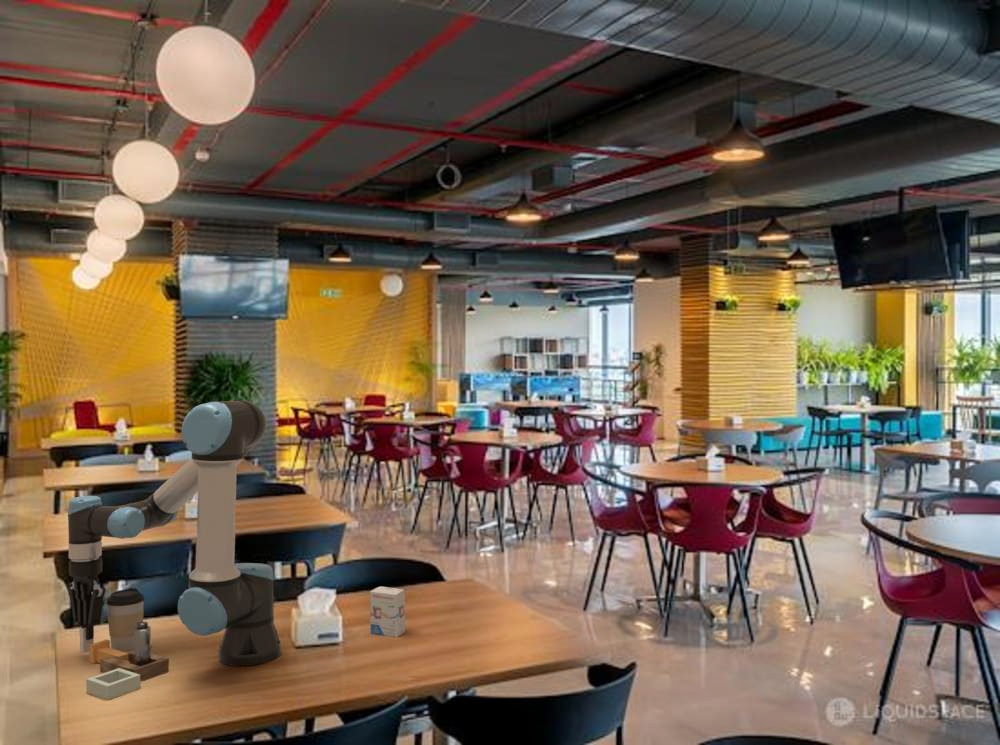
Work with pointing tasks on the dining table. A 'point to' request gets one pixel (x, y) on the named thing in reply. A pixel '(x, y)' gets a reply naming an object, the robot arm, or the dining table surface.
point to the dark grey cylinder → (142, 644)
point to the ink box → (387, 611)
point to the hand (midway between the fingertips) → (86, 651)
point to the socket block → (145, 671)
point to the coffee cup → (124, 617)
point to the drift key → (105, 652)
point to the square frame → (113, 683)
